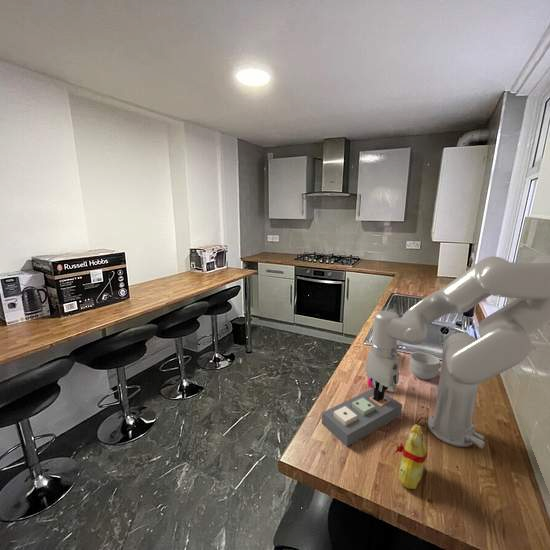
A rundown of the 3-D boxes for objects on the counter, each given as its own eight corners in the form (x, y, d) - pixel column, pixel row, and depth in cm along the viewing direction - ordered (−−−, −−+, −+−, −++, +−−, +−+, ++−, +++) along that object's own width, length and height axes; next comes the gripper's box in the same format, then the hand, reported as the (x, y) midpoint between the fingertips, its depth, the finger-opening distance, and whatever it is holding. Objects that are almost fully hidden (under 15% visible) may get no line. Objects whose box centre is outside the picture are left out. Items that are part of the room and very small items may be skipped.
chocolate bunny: (427, 465, 78) (434, 417, 75) (416, 496, 70) (423, 444, 66) (401, 452, 82) (406, 406, 79) (387, 479, 74) (392, 429, 71)
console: (401, 414, 97) (402, 404, 96) (346, 446, 84) (347, 435, 83) (374, 396, 106) (375, 387, 105) (321, 423, 93) (322, 412, 92)
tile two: (374, 415, 94) (374, 405, 93) (363, 421, 91) (364, 411, 91) (362, 406, 98) (362, 397, 97) (351, 412, 96) (352, 402, 95)
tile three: (389, 410, 98) (390, 400, 98) (379, 415, 96) (380, 405, 95) (377, 401, 103) (378, 392, 102) (367, 406, 100) (368, 397, 99)
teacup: (403, 374, 120) (405, 357, 118) (415, 365, 127) (417, 348, 125) (440, 390, 110) (443, 371, 108) (450, 378, 117) (453, 360, 115)
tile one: (356, 425, 90) (357, 414, 89) (344, 431, 87) (345, 421, 87) (344, 415, 94) (345, 405, 93) (333, 421, 92) (333, 411, 91)
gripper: (411, 356, 90) (405, 407, 94) (372, 337, 102) (368, 384, 107) (396, 363, 86) (390, 416, 90) (357, 342, 98) (353, 390, 103)
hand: (378, 398), depth 99 cm, fingers closed
